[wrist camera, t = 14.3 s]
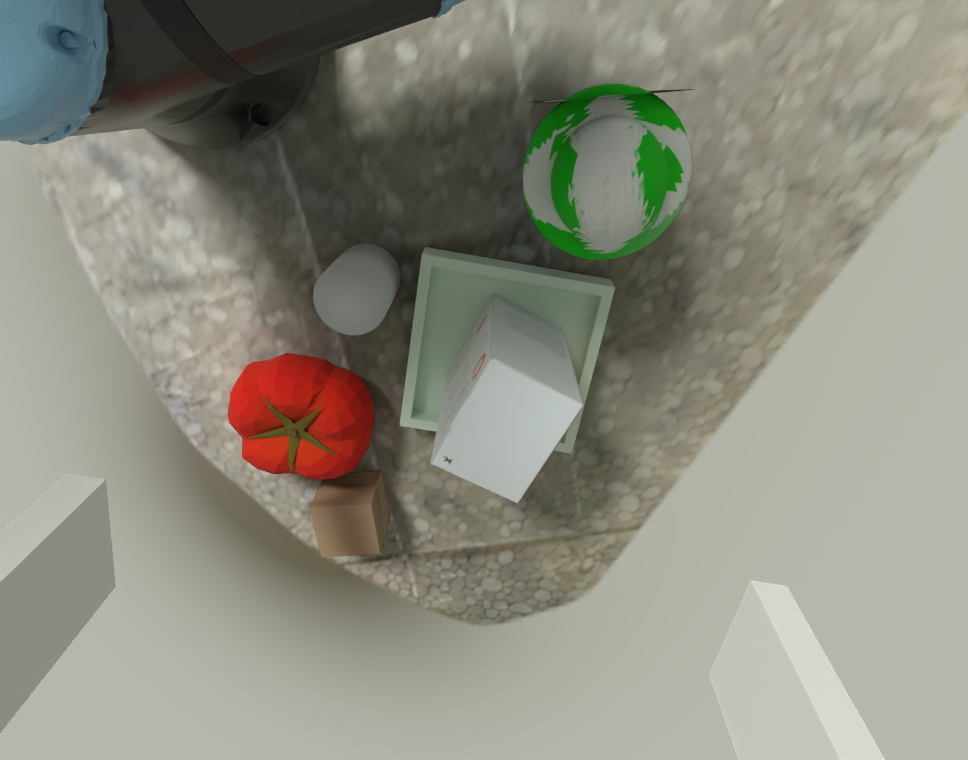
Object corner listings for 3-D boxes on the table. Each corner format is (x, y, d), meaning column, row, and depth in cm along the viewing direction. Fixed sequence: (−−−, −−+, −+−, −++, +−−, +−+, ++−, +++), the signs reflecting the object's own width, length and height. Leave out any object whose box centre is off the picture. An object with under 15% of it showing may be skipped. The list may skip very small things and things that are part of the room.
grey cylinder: (332, 302, 49) (311, 328, 44) (337, 238, 47) (315, 257, 42) (397, 313, 50) (383, 340, 44) (404, 249, 48) (391, 270, 42)
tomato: (375, 457, 55) (359, 502, 49) (247, 440, 55) (216, 482, 49) (384, 353, 51) (368, 388, 45) (246, 333, 51) (212, 366, 45)
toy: (649, 79, 42) (718, 74, 29) (646, 220, 46) (705, 276, 32) (514, 91, 43) (518, 92, 29) (522, 230, 47) (529, 288, 33)
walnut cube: (336, 520, 58) (321, 557, 53) (325, 473, 56) (309, 507, 51) (390, 517, 58) (380, 554, 53) (381, 470, 56) (370, 504, 51)
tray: (403, 412, 53) (399, 425, 51) (425, 246, 47) (421, 253, 45) (569, 440, 54) (571, 453, 52) (610, 279, 48) (615, 287, 46)
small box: (515, 412, 52) (517, 507, 40) (444, 377, 51) (426, 465, 39) (567, 328, 49) (586, 405, 37) (493, 290, 48) (489, 356, 36)
